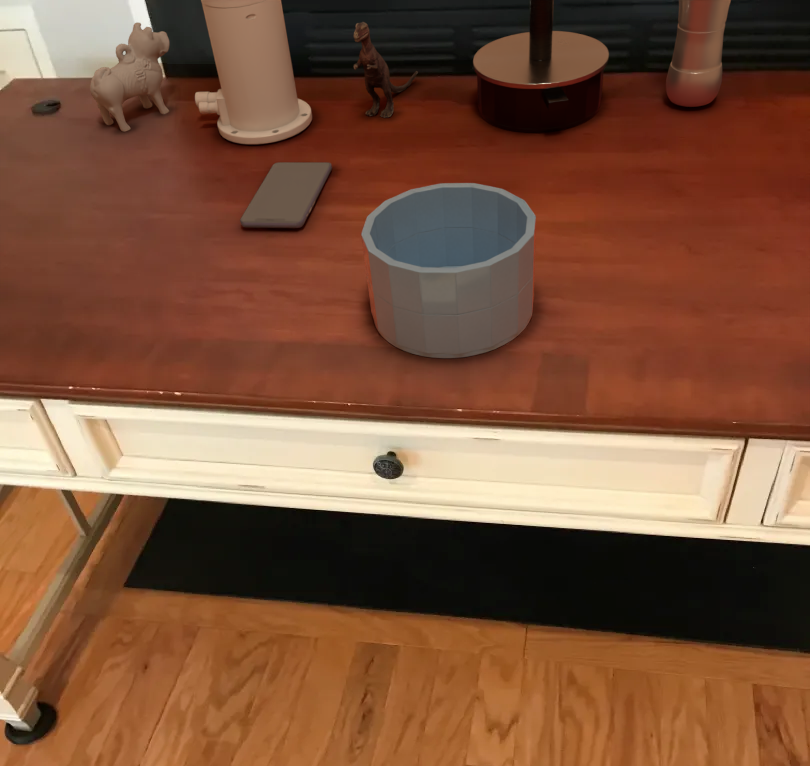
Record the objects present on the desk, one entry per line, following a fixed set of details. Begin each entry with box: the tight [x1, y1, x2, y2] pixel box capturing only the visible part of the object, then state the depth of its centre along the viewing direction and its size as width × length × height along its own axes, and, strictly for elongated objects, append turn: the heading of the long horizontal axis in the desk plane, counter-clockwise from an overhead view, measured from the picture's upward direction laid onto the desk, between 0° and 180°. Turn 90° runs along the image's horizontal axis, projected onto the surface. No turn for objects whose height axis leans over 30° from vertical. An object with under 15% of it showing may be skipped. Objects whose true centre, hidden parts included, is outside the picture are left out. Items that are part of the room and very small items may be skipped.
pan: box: [476, 68, 605, 134], centre depth 115 cm, size 16×21×6 cm
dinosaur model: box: [353, 21, 419, 119], centre depth 117 cm, size 4×12×15 cm
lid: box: [472, 0, 610, 89], centre depth 110 cm, size 17×17×8 cm
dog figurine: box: [89, 21, 170, 132], centre depth 122 cm, size 5×13×11 cm, turn 138°
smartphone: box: [239, 161, 333, 229], centre depth 105 cm, size 8×1×15 cm
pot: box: [360, 182, 537, 359], centre depth 85 cm, size 16×16×9 cm
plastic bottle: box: [665, 0, 732, 108], centre depth 106 cm, size 6×7×20 cm
